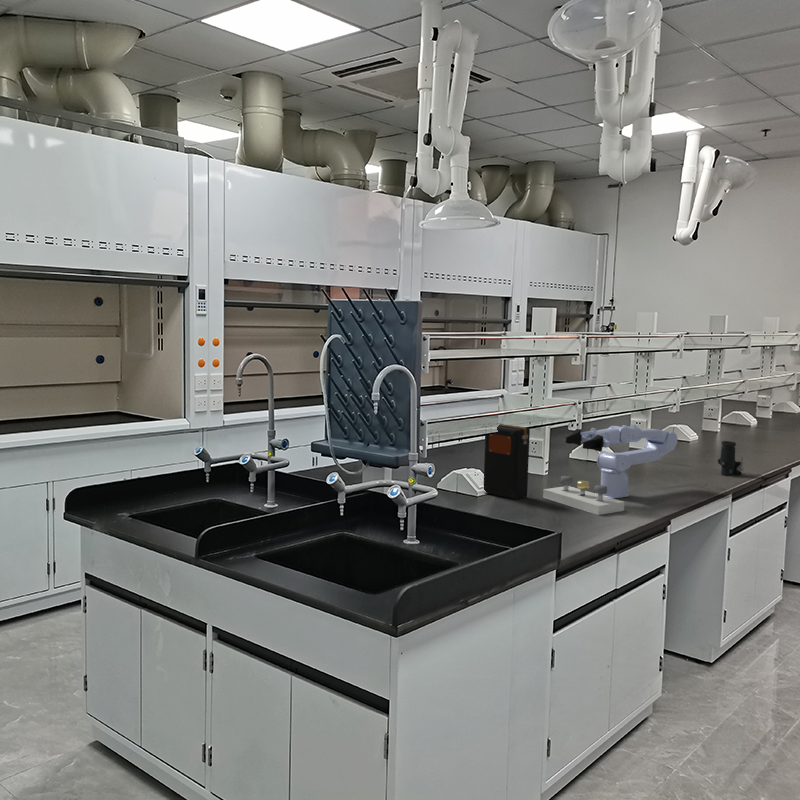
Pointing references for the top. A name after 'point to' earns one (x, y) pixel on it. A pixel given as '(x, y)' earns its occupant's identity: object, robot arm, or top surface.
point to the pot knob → (582, 486)
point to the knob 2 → (600, 491)
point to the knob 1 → (566, 482)
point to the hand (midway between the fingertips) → (575, 442)
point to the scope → (729, 460)
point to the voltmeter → (507, 461)
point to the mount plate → (583, 500)
